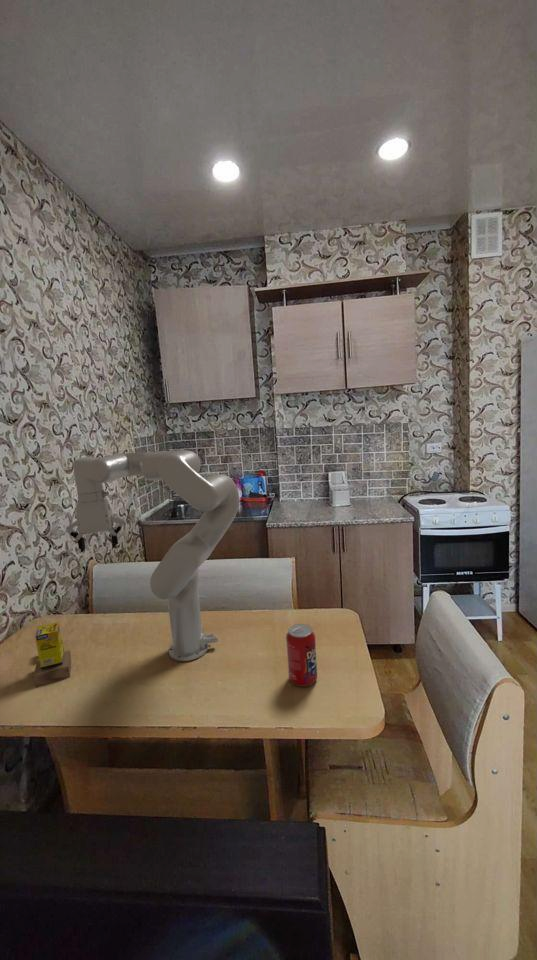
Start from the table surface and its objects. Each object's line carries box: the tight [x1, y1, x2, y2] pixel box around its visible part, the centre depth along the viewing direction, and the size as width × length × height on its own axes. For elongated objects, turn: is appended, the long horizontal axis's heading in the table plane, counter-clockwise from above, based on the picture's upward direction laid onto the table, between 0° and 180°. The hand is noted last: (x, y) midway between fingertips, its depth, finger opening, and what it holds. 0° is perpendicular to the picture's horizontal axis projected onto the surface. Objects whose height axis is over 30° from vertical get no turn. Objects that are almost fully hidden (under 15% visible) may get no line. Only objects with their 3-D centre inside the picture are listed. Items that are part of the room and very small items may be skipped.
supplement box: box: [34, 622, 65, 669], centre depth 125 cm, size 6×6×11 cm
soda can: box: [285, 623, 318, 687], centre depth 114 cm, size 8×8×15 cm
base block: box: [33, 650, 72, 687], centre depth 126 cm, size 9×9×4 cm
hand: (99, 548), depth 134 cm, fingers open, 9 cm apart
